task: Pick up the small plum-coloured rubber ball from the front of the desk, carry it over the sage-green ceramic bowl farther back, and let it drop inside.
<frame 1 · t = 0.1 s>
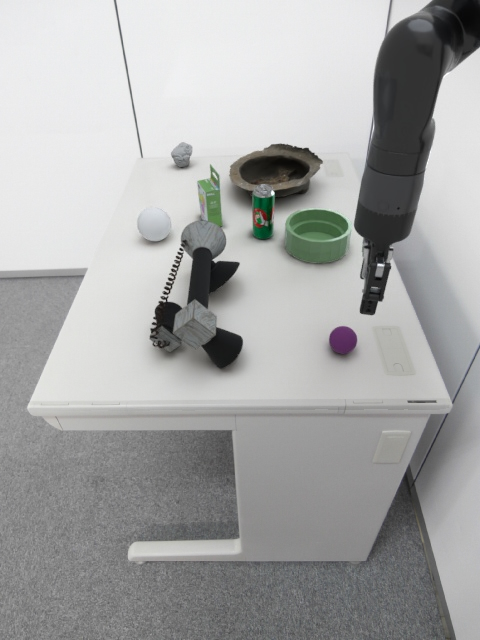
hand: (366, 295, 68), 14 cm above the table, tool pointing down, fingers open, 8 cm apart
grey muffin: (183, 166, 137), on the table
green bowl: (315, 246, 102), on the table
telephone: (201, 315, 86), on the table
stone bowl: (273, 191, 123), on the table
ball: (157, 239, 106), on the table
soda can: (262, 235, 107), on the table
plum ball: (343, 339, 77), point 2 cm above the table
ink box: (211, 222, 112), on the table
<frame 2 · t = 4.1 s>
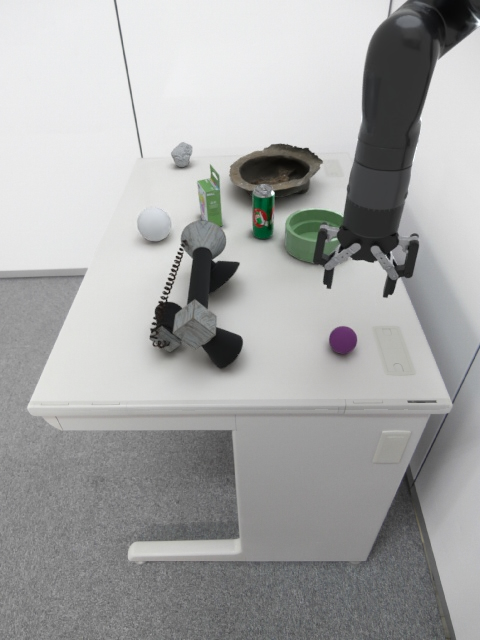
hand: (356, 290, 68), 14 cm above the table, tool pointing down, fingers open, 8 cm apart
nothing on the table moved.
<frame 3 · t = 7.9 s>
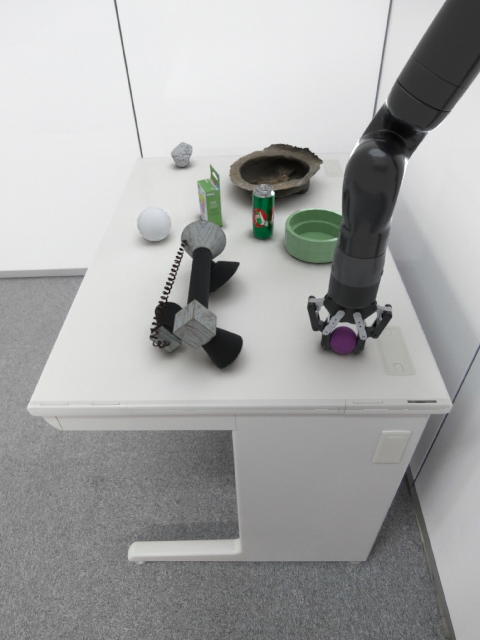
hand: (341, 347, 78), 0 cm above the table, tool pointing down, fingers closed on plum ball, 4 cm apart
plum ball: (343, 339, 77), point 2 cm above the table, touching gripper
everything else where it was.
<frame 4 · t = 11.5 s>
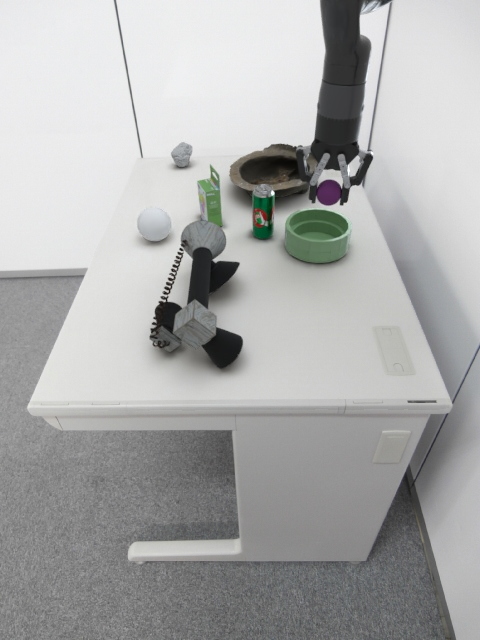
hand: (327, 202, 85), 16 cm above the table, tool pointing down, fingers closed on plum ball, 4 cm apart
plum ball: (328, 192, 83), point 18 cm above the table, touching gripper
everything else where it was.
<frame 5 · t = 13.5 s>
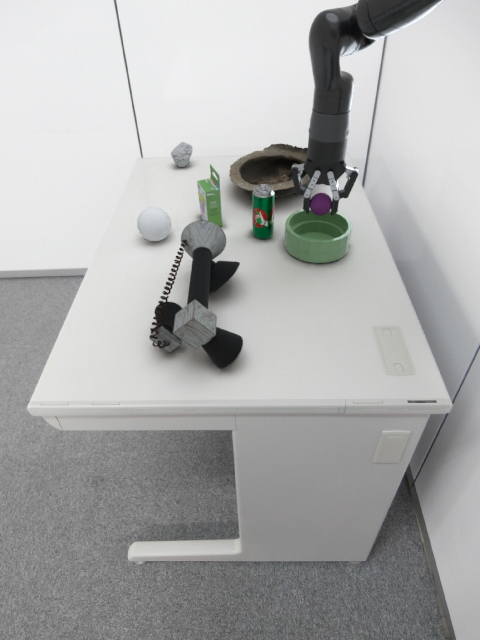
hand: (319, 212, 96), 9 cm above the table, tool pointing down, fingers closed on plum ball, 4 cm apart
plum ball: (320, 204, 95), point 11 cm above the table, touching gripper
everything else where it was.
when the fingers open (5 cm above the table, at t = 15.0 s): plum ball drops 4 cm, resting on green bowl.
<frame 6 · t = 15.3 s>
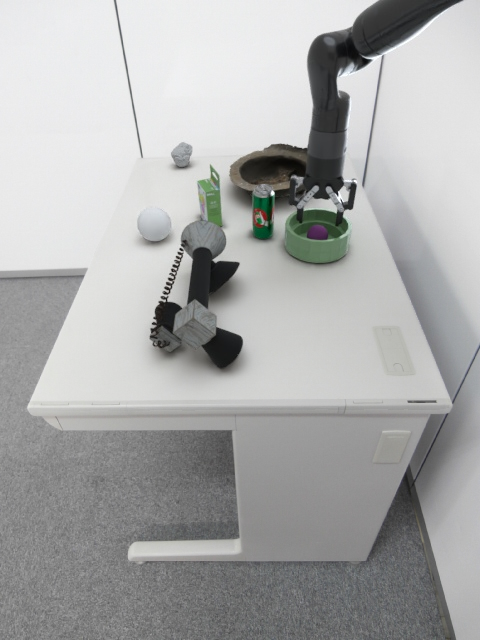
hand: (318, 223, 98), 6 cm above the table, tool pointing down, fingers open, 7 cm apart
plum ball: (317, 235, 100), point 3 cm above the table, touching green bowl
everything else where it was.
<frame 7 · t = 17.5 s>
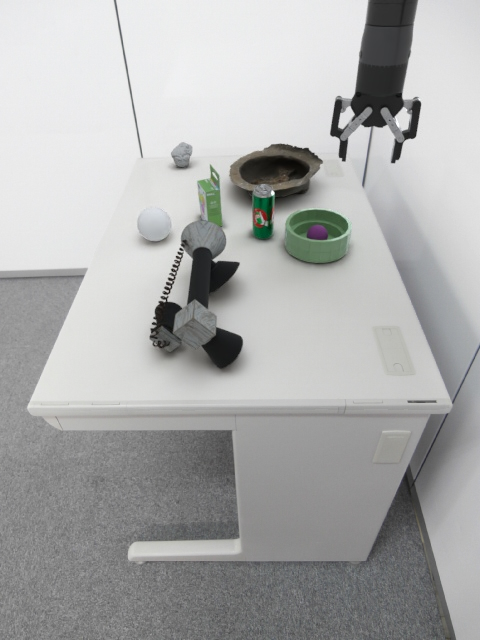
hand: (367, 160, 79), 24 cm above the table, tool pointing down, fingers open, 8 cm apart
nothing on the table moved.
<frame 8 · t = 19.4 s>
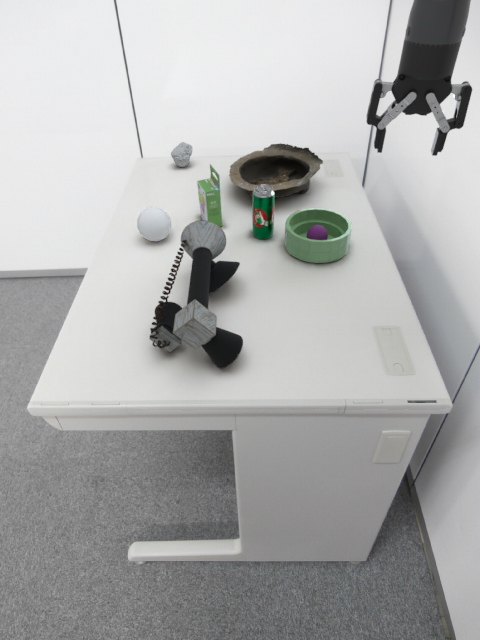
hand: (406, 152, 72), 28 cm above the table, tool pointing down, fingers open, 8 cm apart
nothing on the table moved.
at the end: plum ball inside the target area in the green bowl (0.0 cm from its centre), point 3.0 cm above the green bowl's base; the gripper is holding nothing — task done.
